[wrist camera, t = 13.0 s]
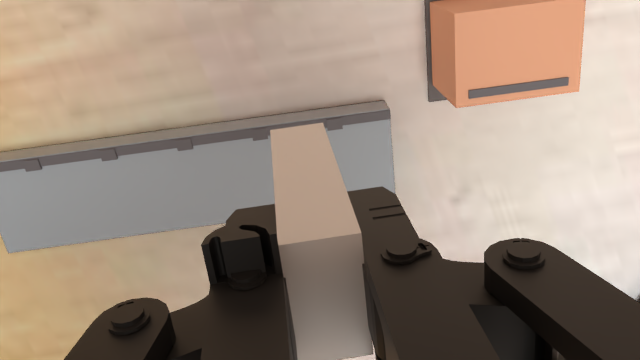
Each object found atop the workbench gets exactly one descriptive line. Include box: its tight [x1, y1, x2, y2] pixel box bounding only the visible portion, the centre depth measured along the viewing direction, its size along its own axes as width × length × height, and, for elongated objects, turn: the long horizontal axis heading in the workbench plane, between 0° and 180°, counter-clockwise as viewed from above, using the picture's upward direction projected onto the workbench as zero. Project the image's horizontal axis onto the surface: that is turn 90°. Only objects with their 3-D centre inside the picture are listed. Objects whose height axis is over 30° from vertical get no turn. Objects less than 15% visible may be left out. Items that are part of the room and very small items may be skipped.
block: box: [430, 0, 586, 108], centre depth 29 cm, size 6×4×4 cm
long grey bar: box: [0, 100, 395, 253], centre depth 32 cm, size 22×5×2 cm, turn 97°
